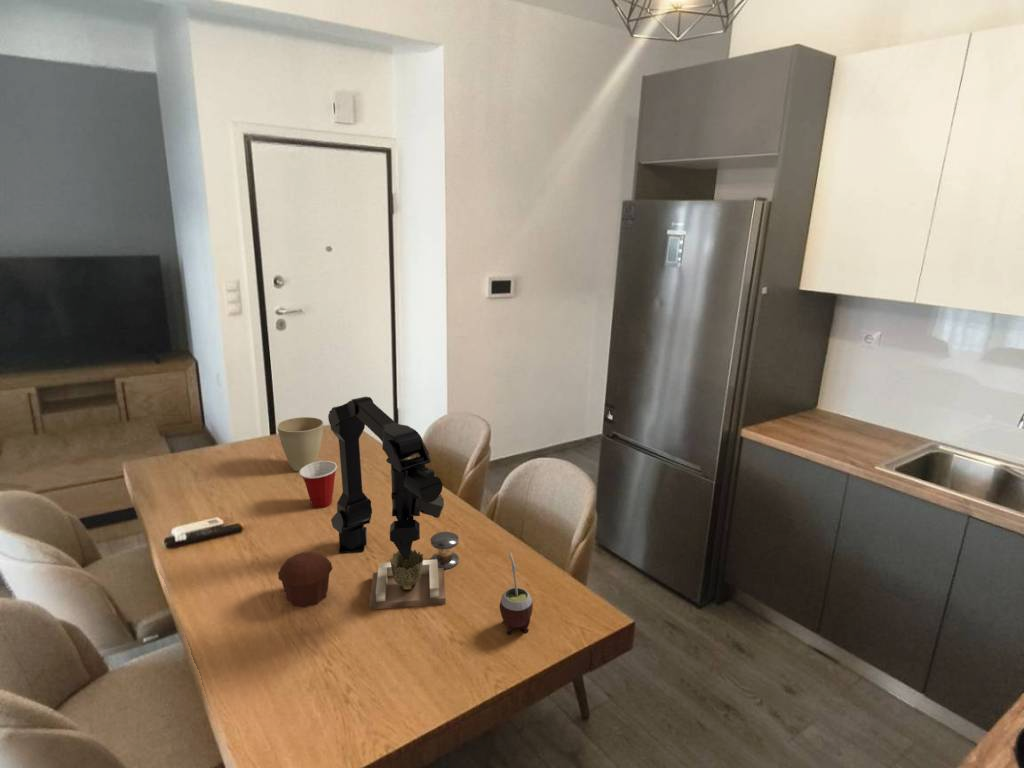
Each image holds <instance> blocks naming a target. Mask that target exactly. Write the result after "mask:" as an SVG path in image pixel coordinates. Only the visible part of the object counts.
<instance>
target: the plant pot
mask: <svg viewBox="0 0 1024 768" xmlns="http://www.w3.org/2000/svg"><path fill="white" fill-rule="evenodd" d="M276 428H277V433H278V437H279V441H280V443H281V446H282V447H281V448H282V449H283V452H284V455H285V458H286V460H287V462H288V463H289V465H290V467H291V469H292V470H293V471H295V472H299V471H300V470H301V468H303V467H304V466H306V465H308V464H310V463H313V462H318V457H319V454H320V451H321V450H320V449H321V445H322V440H323V433H324V421H323V420H322V419H321V418H317V417H311V416H305V417H303V416H302V417H301V416H300V417H292V418H287V419H284V420H282V421H280V422H278V423H277V425H276Z"/></svg>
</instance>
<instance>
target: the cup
mask: <svg viewBox="0 0 1024 768" xmlns="http://www.w3.org/2000/svg"><path fill="white" fill-rule="evenodd" d="M423 560H424V554H423V553H422V554H421V552H420V551H418V552H417V551H416V549H414V550H413V549H412V548H411V551H410V556H409V559H407V560H404V559H403V557H402V555H401V554H400V552H399V550H398V551H397V552H396V553H395V552H393V554H392V557H391V558H389V561H390V562H391V568H392V573H393V577H394V580H395V581H396V583H397V584H399V586H400V588H401V589H402V590H403V591H411V590H413V589H414V587H415V585H416V583H417V582H418V580H419V579H420V576H421V572H422V564H423Z"/></svg>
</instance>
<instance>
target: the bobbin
mask: <svg viewBox="0 0 1024 768" xmlns="http://www.w3.org/2000/svg"><path fill="white" fill-rule="evenodd" d="M459 542H460V541H459V536H458V535H457V534H456V533H454V532H451V531H440V532H436V533H435V534H433V535H431V537H430V544H431V546H432V547H433V548H434V549H436V553H434V554H433V555H432V556H431V557H430V560H434V559H437V562H438V568H444V570H450V569H453V568H455V567H457V565H458V564H459V559H460V558H459V555H458V554H457V553H455V552H454V549H453V548H455V547H456V546H457V545H458V544H459Z"/></svg>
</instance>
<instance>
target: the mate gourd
mask: <svg viewBox="0 0 1024 768" xmlns="http://www.w3.org/2000/svg"><path fill="white" fill-rule="evenodd" d="M508 554H509V555H508V556H509V558H510V561H511V566H512V567H511V569H512V570H511V571H512V573H513V583H514V584H513V585H514V587H512V588H509V589H507V590H506V591H505V592H504V593H503V594H502V595H501V598H500V602H499V611H500V615H501V618H502V623H504V624H506V627H507V631H506V635H508V636H511V635H512V633H514V632H515V630H519V631H520V632H524V633H526V634H527V633H529V630H530V629H529V628H528V627H529V626H530V622H531V616H532V613H533V609H534V607H533V606H534V605H533V599H532V597H531V594H530V593H529V592H528V591H527V590H526V589H524V588H520V587H518V583H517V573H516V572H517V567H516V564H515V561H514V557H513V554H512V551H508Z"/></svg>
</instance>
